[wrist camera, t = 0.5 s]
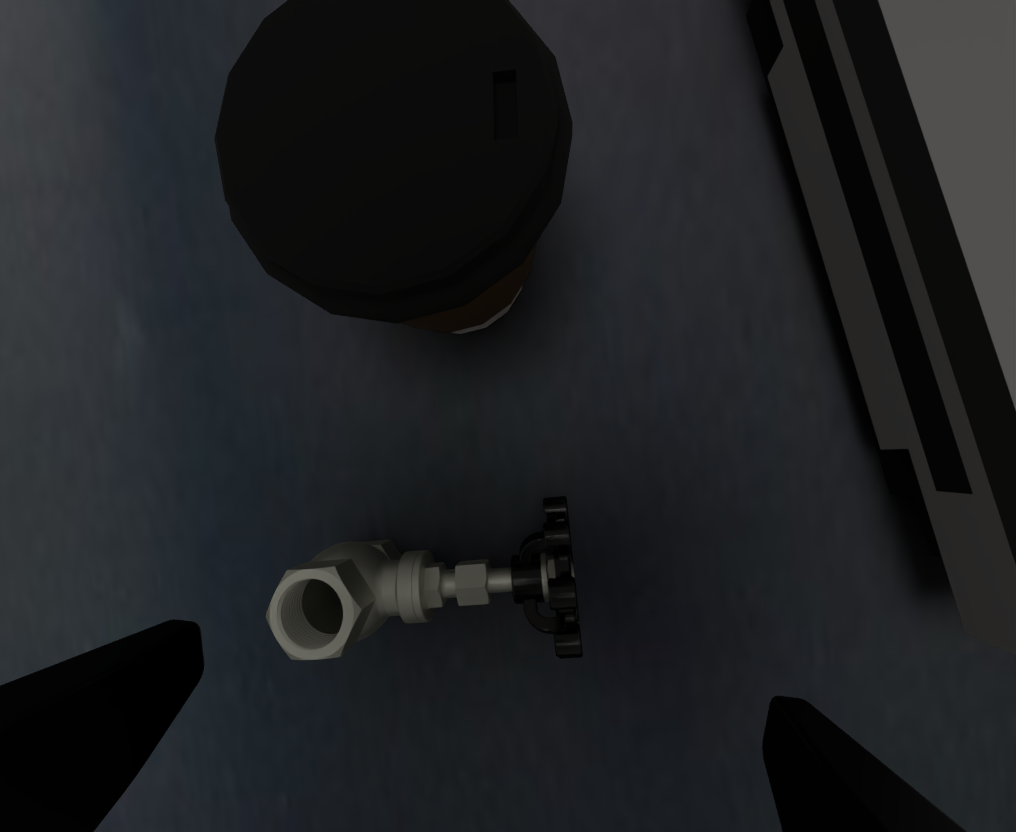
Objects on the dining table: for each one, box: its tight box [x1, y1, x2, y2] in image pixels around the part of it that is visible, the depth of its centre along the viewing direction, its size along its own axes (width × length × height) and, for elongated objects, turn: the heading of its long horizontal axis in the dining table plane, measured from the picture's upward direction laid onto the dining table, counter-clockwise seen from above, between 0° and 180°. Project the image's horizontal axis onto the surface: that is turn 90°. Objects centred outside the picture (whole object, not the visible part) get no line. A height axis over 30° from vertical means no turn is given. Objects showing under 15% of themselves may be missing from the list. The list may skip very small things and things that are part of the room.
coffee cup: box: [214, 0, 572, 334], centre depth 20 cm, size 11×11×12 cm
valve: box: [266, 496, 583, 660], centre depth 22 cm, size 7×7×12 cm
